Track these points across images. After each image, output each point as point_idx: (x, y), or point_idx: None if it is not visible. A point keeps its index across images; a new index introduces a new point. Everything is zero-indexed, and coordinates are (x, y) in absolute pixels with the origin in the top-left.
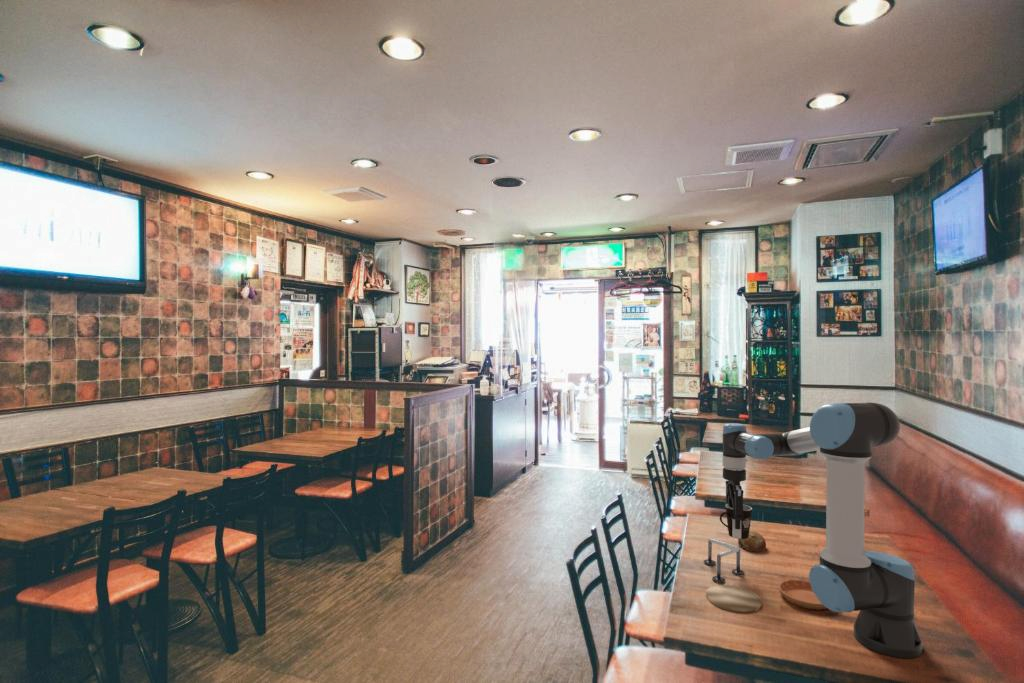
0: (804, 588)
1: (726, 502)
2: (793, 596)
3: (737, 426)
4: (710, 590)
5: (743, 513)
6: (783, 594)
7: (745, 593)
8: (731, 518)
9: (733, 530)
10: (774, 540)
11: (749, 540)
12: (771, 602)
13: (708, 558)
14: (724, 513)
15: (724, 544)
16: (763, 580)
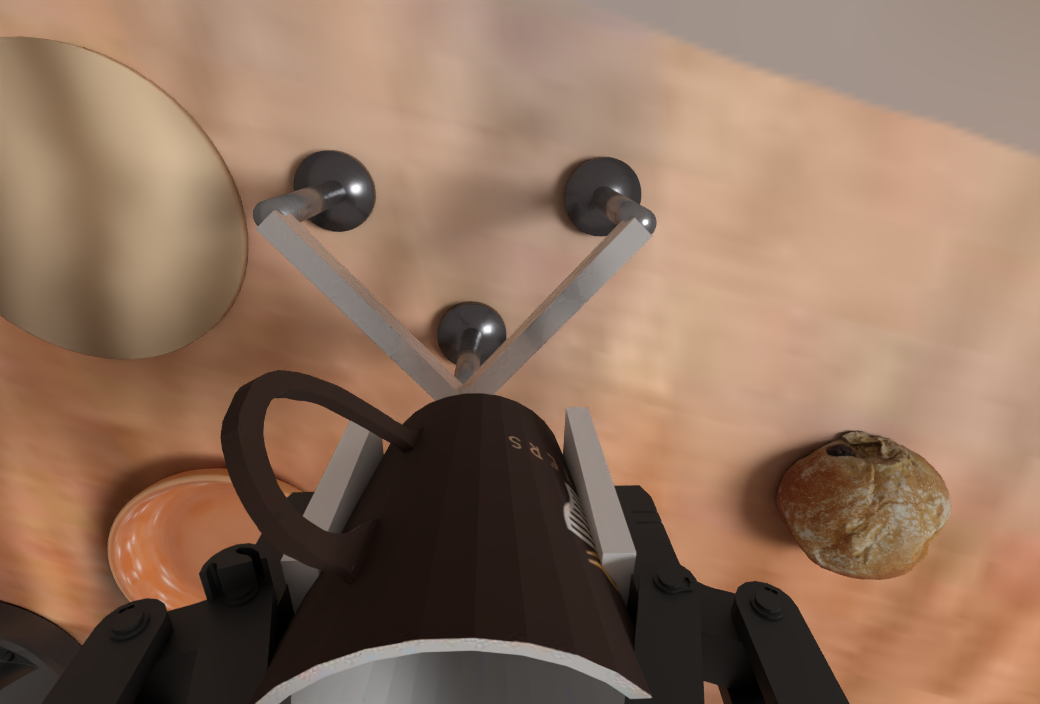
0: None
1: (777, 682)
2: (233, 507)
3: None
4: (108, 84)
5: None
6: (179, 475)
7: (163, 301)
8: (252, 548)
9: (332, 458)
10: (909, 600)
11: (828, 505)
12: (150, 402)
13: (603, 189)
14: (264, 511)
15: (530, 323)
16: None
